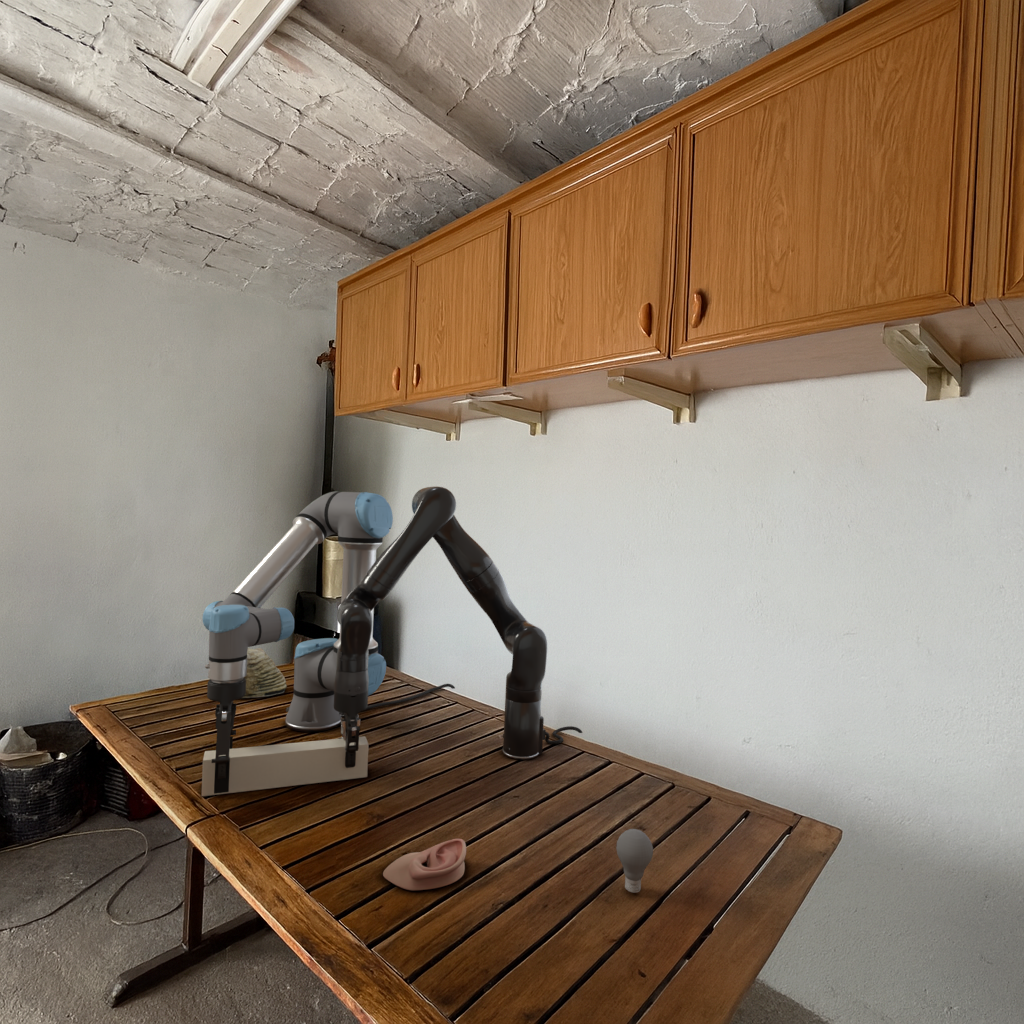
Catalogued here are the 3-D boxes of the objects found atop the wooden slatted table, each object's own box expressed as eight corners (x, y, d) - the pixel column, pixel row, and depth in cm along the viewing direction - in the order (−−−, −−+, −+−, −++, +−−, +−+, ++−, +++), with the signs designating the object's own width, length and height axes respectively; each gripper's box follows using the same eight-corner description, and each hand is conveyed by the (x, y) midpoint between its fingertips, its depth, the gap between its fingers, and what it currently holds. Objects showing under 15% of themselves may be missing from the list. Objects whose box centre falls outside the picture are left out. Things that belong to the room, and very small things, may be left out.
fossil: (218, 695, 195) (220, 647, 195) (278, 685, 208) (279, 640, 207) (228, 703, 189) (230, 653, 188) (289, 692, 201) (290, 645, 201)
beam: (201, 796, 132) (202, 760, 131) (203, 786, 136) (204, 751, 136) (367, 777, 144) (368, 744, 144) (364, 768, 149) (365, 736, 149)
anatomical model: (376, 860, 104) (402, 826, 115) (375, 884, 104) (401, 847, 115) (453, 873, 101) (472, 837, 113) (452, 898, 101) (471, 859, 113)
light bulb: (610, 879, 108) (613, 822, 108) (644, 879, 109) (647, 822, 109) (619, 902, 102) (622, 840, 102) (655, 901, 103) (658, 840, 103)
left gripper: (212, 664, 145) (208, 758, 145) (202, 697, 122) (198, 807, 123) (247, 663, 148) (244, 754, 148) (244, 694, 125) (240, 802, 125)
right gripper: (331, 680, 150) (328, 751, 150) (337, 698, 136) (334, 777, 137) (363, 678, 153) (360, 748, 153) (373, 696, 139) (369, 773, 139)
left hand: (223, 778), depth 135 cm, fingers open, 12 cm apart
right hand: (348, 761), depth 145 cm, fingers closed on beam, 5 cm apart
